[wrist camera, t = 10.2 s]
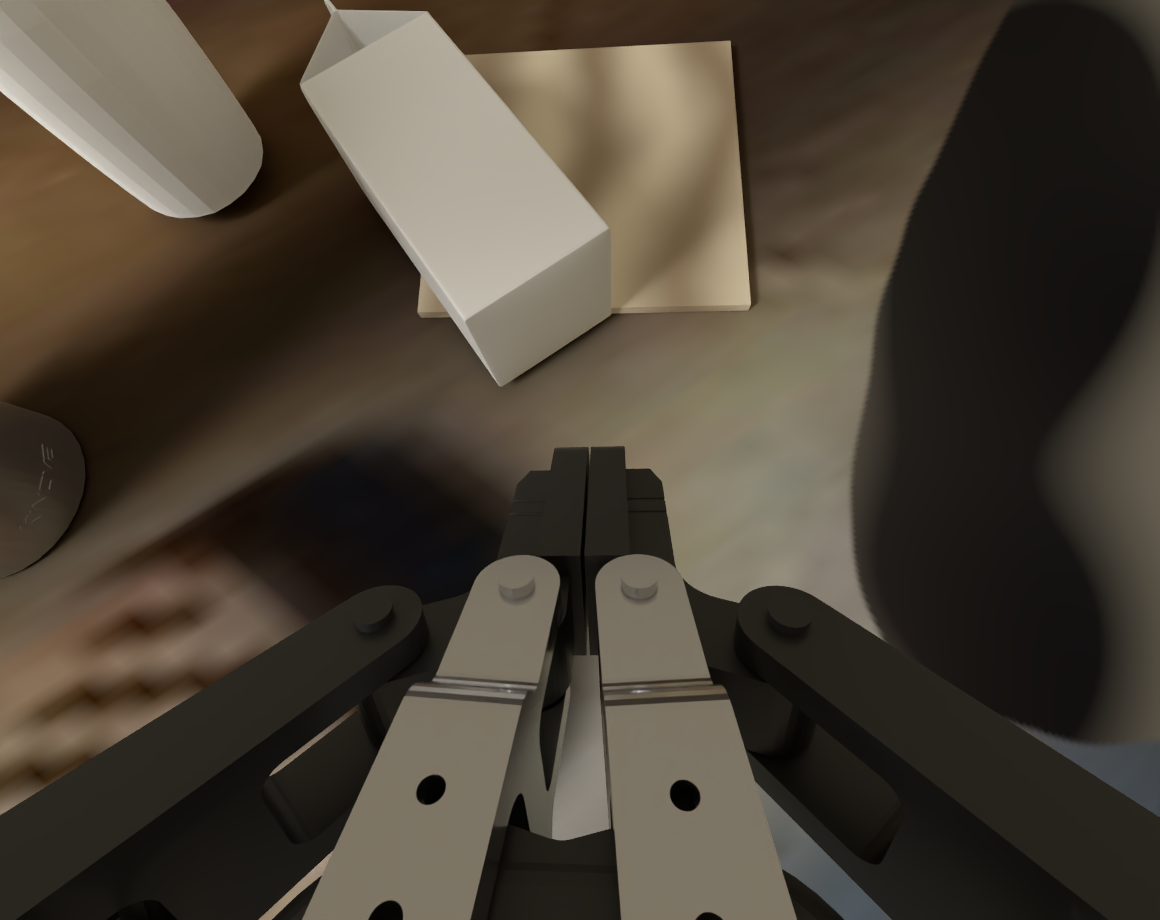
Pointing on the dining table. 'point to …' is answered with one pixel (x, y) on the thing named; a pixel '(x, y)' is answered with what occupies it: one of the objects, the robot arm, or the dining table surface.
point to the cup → (131, 99)
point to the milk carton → (461, 186)
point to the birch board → (641, 163)
